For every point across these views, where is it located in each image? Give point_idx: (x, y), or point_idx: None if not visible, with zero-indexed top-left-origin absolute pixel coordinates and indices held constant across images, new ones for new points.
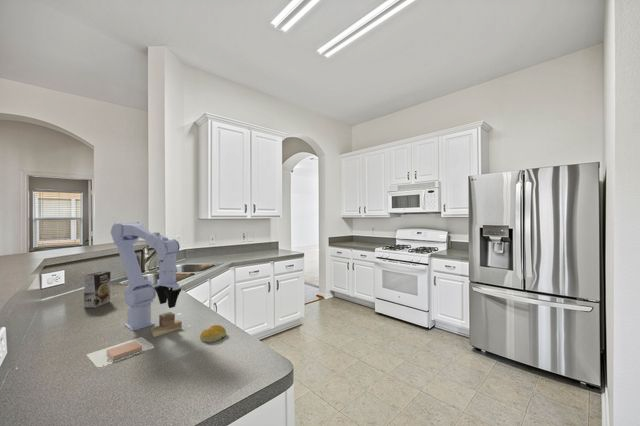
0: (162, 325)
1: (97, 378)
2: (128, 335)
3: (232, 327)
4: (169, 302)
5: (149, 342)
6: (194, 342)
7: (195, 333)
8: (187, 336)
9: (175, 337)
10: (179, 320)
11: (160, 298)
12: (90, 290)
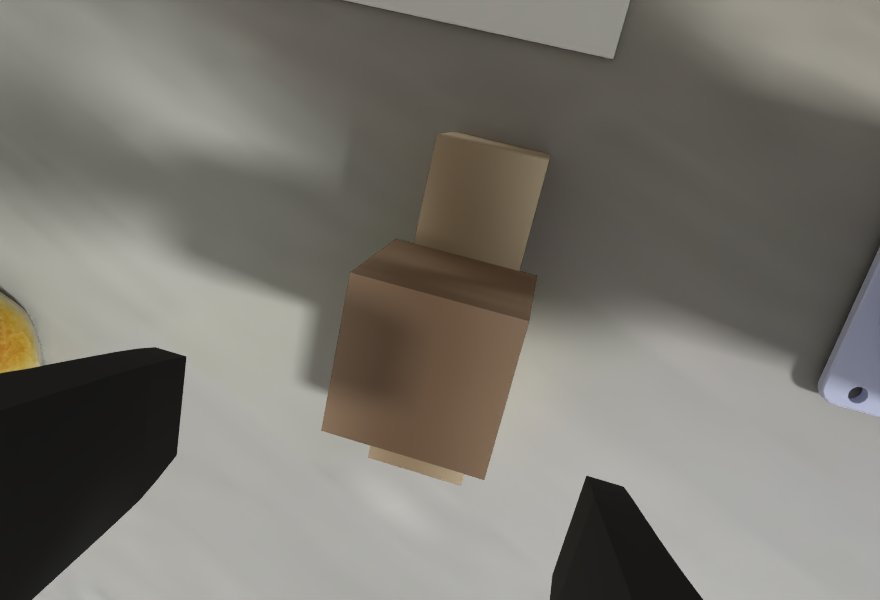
0: (431, 252)
1: None
2: (862, 15)
3: None
4: (29, 382)
5: (365, 2)
6: (5, 226)
7: None
8: (170, 296)
9: (251, 232)
10: (424, 473)
11: (604, 571)
12: None
